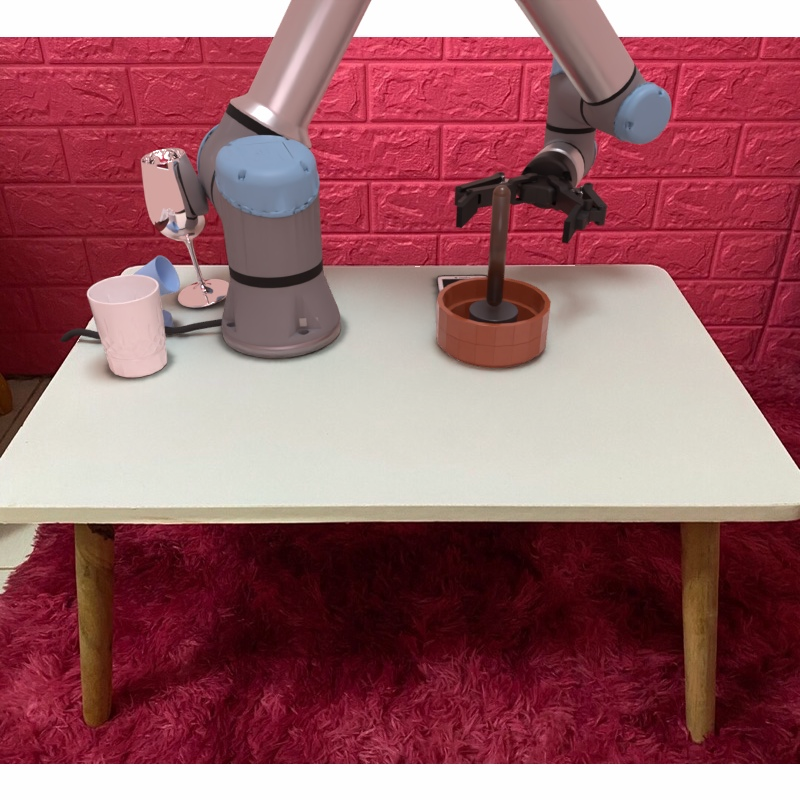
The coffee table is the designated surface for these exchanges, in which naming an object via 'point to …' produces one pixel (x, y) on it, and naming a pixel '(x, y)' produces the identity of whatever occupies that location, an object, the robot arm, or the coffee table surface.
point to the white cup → (130, 324)
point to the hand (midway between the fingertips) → (511, 224)
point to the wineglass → (180, 215)
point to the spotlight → (162, 280)
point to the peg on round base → (496, 266)
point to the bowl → (487, 339)
